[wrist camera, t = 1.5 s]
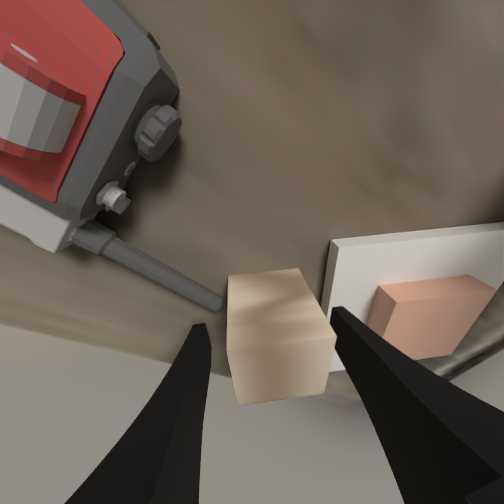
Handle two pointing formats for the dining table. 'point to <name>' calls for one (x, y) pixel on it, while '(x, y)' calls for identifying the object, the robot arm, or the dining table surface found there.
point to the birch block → (276, 337)
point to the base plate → (408, 263)
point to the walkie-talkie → (82, 126)
